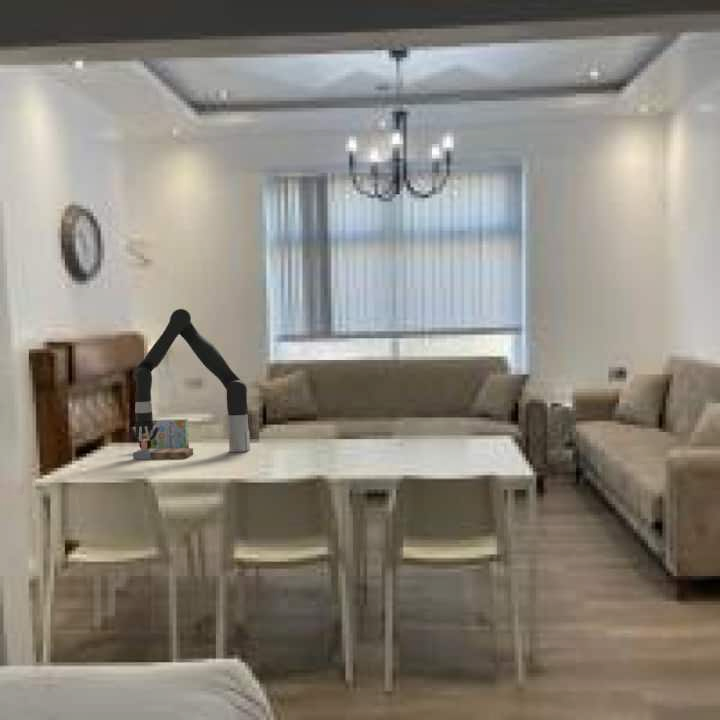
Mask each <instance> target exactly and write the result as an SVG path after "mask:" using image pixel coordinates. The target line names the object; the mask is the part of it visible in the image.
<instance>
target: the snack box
mask: <svg viewBox="0 0 720 720" xmlns="http://www.w3.org/2000/svg"><path fill="white" fill-rule="evenodd" d="M153 424H154V426H156V427H159V430H158V432H157V435H156V437H155V439H152V440H151V448H150V449H178V448H190V439H189V438H190V437H189V436H190V435H189V419H188V418H161V419H159V418H158V419H153ZM153 432H154V430H153V428H152V430H151V437H152V435H153ZM143 439H147V436H146V433H144V435H143Z"/></svg>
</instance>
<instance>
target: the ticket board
mask: <svg viewBox="0 0 720 720" xmlns="http://www.w3.org/2000/svg"><path fill="white" fill-rule="evenodd" d="M193 455H194V448H192V447H189V448H178V449H158V450H156V451H154V452H152V459H151V460H184V459H185V460H186V459H189V458H191V457H192V456H193Z"/></svg>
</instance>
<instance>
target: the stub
mask: <svg viewBox="0 0 720 720" xmlns="http://www.w3.org/2000/svg"><path fill="white" fill-rule="evenodd" d="M147 441H148V440H147V439H143V440H141V448H140V449H138V450H136V451H134V452H132V455H133V456H132V459H133V460H153V459H152V452H154V451H156V450H158V449H147Z"/></svg>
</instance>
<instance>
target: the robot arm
mask: <svg viewBox="0 0 720 720" xmlns="http://www.w3.org/2000/svg"><path fill="white" fill-rule="evenodd" d="M191 318H192V317H191V314H190V312H189V311H188V310H187V309H185V308H178V309H175V310H174V311H173V312H172V313H171V315H170V317H169V321H168V323H167V326H166V327H165V329H164V330H163V332H162V334H161V335H160V336H159V338H158V339H157V340H156V342H155V343H154V344H153V345H152V347H151V348H150V349H149V351H148V353H147V354H146V355H145V357H144V358H143V359H142V361H140V363H139V364H138V365H137V366H136V367H135V369H134V370H133V372H132V378H133V380H134V381H135V382H136V390H135V392H134V396H135V397H134V400H135V405H134V408H135V409H134V412H135V424H134V426H133V427H130V428H129V430H130V433H131V435H132V437H133V438H134V440H135V441H139V445H138V446H139V448H140V449H141V440H143V435H144V433H146V436H147V440H148V441H147V449H150V448H151V440H152V439H155V437H156V435H157V432H158V430H159V427H156V426H154V424H153V420H154V419H153V404H152V384H153V383H152V382H153V375H152V372H153V371H154V369H155V368H157V367H158V366H159V365H160V364H161V362H162V361H163V359H164V358H165V356H166V355H167V353H168V352H169V349H170V348H171V346H172V345H173V343H174V342H175V341H176V338H177V337H178V336H179V335H180V337H181V338H182V339H184V340H185V342H186V343H187V344H188V345H189V347H190V349H191V350H192V352H193V353H194V354H195V355H196V358H197V359H198V360H199V361H200V362H201V363H202V365H204V367H205V368H206V369H207V370H208V371H209V372H210V373H212V374H213V375H214V376H215V377H216V378H217V379H218V380H219V381H220V383H222V385H223V386H224V389H225V391H226V408H227V421H228V422H227V424H228V425H227V427H228V430H227V431H228V446H229V447H228V449H229V452H231V453H244V452H249V451H250V450H251V445H250V444H251V443H250V442H251V441H250V440H251V439H250V430H249V419H248V418H249V415H248V414H249V413H248V402H247V401H248V399H247V398H248V397H247V396H248V395H247V393H248V388H247V385H246V383H245V382H244V381H243V380H242V379H241V378H240V377H238V375H236V373H235V372H234V371H233V370H232V369H231V368H230V366H229V364H228V363H227V361H226V359H225V358H224V357H223V356H222V354H221V353H220V352H219V351H218V349H217V348H216V347H215V346H214V344H213V343H212V342H211V341H210V340H209V339H207V337H204V335H203V334H201V333H200V332H199V331H198V329H197V328H196V327H195V326H194V324H193V323H192V319H191ZM152 428H153V430H154V432H153V435H152V437H151V430H152ZM137 431H138V433H137Z"/></svg>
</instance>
